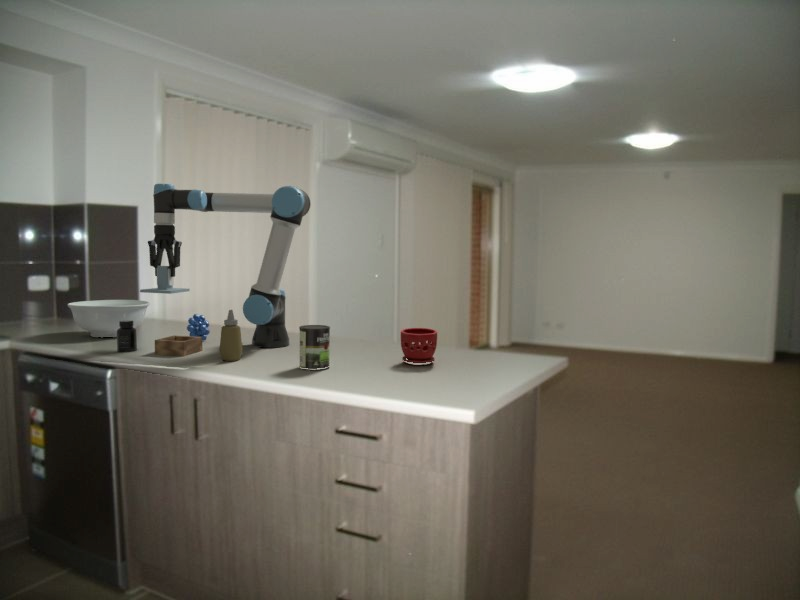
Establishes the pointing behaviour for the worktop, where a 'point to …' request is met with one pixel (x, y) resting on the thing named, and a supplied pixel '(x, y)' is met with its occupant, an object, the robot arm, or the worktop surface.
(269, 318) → the robot arm
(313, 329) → the coffee can
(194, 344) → the box
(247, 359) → the worktop surface
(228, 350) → the squeeze bottle
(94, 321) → the bowl
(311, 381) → the worktop surface
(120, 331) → the supplement bottle
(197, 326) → the grapes
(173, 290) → the lid
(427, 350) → the plant pot
